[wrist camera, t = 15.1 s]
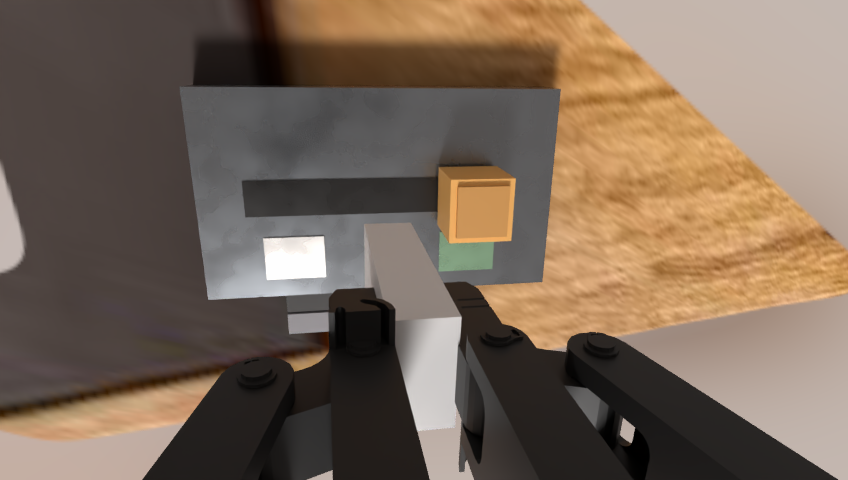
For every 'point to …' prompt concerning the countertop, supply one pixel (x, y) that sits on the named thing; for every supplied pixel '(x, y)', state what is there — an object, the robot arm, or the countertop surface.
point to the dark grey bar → (308, 302)
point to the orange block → (475, 204)
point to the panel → (358, 179)
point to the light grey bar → (308, 321)
